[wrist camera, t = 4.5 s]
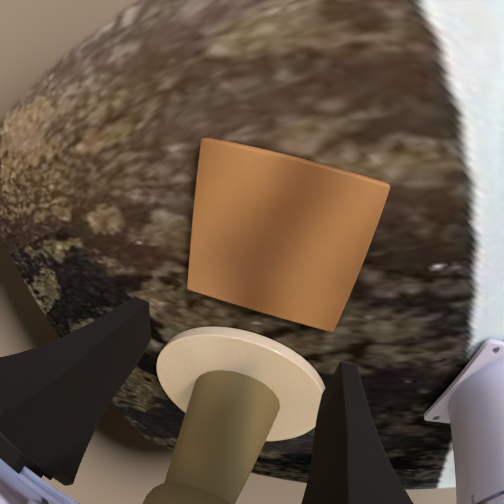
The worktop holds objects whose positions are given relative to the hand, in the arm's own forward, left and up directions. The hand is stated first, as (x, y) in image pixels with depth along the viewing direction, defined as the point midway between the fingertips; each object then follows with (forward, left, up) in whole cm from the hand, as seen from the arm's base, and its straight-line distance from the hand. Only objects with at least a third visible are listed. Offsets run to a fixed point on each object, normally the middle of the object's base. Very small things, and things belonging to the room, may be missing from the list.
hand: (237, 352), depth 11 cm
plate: (0, +10, -5) cm, 12 cm away
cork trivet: (0, -2, -5) cm, 6 cm away
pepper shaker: (0, +10, -5) cm, 11 cm away
